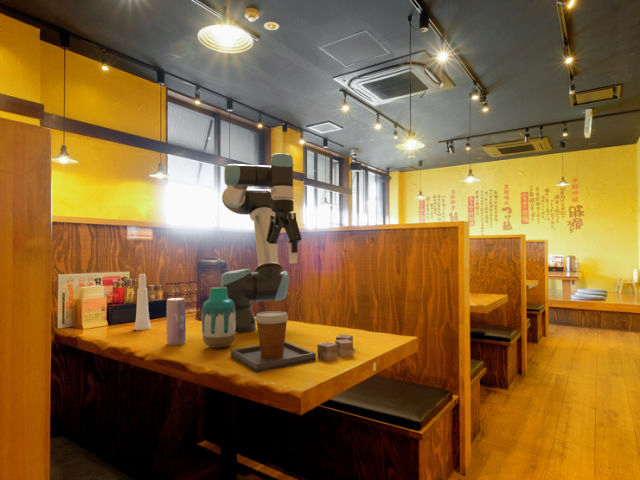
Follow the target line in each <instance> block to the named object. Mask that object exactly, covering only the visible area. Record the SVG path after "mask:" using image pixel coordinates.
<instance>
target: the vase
mask: <svg viewBox="0 0 640 480" xmlns="http://www.w3.org/2000/svg"><path fill="white" fill-rule="evenodd" d="M201 309H202V310H201V332H202V333H201V334H202V340H203V342H204V345H206V346H207V347H209V348H214V349H220V348H225V347H228V346H230V345H231V344H232V343H233V341H235V337H236V333H235V329H236V314H235V305H234V302H233V301H232V300H231V299H229V298H228V294H227V287H221V286H216V287H215V286H214V287H210V288H209V297H208V298H207V300H205V301H204V302H203V303H202V308H201Z"/></svg>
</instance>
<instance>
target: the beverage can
mask: <svg viewBox="0 0 640 480" xmlns="http://www.w3.org/2000/svg"><path fill="white" fill-rule="evenodd" d="M186 328H187V327H186V299H185V298H184V297H171V298H167V299H166V344H167V345H168V346H179V345H183V344H185V342H186V341H187V339H186V332H187V331H186Z"/></svg>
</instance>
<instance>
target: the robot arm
mask: <svg viewBox="0 0 640 480" xmlns="http://www.w3.org/2000/svg"><path fill="white" fill-rule="evenodd" d="M269 164H270V165H259V164H258V165H256V164H240V163H239V164H238V163H230V164H225V166H224V171H223V172H224V173H223V174H224V178H223V179H224V184H225V185H226V188H225V189H224V191H223V192H222V196H221V199H222V200H221V201H222V203H223V206H224V207H225V208H227V209H228V210H229V211H230V212H232V213H235V214H238V215H248V216H249V217H250V220H252V221H253V223H254V224H253V225H254V234H255V246H256V256H257V257H256V258H257V266H256V267H255V269H254V271H252V270H251V268H244V269H243V268H242V269H235V270H229V271H226V272H224V273H222V274H221V276H220V286H219V287H227V294H228V298H229V299H231V300H232V301H233V302H234V305H235V314H236V329H235V334H239V333H240V334H241V333H246V332H251V331H254V330H256V329H257V322H256V320H255V316H254V314H253V310H252V302H272V301H273V302H274V301H275V302H276V301H283V300H284V299H285V298H286V297H287V294H288V291H289V283H290V282H289V272H288V271H287V270H284V267H283V265H282V264H280V263H279V251H278V250H279V249H278V245H279V242H278V239H279V237H280V234H281V231H282V230H283V229H284V231H285V234H286V236H287V237H288V264H298V243H299V241H302V236H301V232H300V229H299V225H298V222H297V214H296V212H294V200H293V199H295V198H294V197H295V196H294V160H293V156H292V155H291V154H289V153H284V152H283V153H282V152H280V153H278V152H277V153H273V154H272V155H271V157H270V162H269ZM248 187H255V188H254V189H253V188H248ZM256 187H258V188H259V187H261V188H262V187H263V188H264V189H258V188H257V189H256ZM267 188H270V189H267Z"/></svg>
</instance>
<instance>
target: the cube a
mask: <svg viewBox="0 0 640 480" xmlns="http://www.w3.org/2000/svg"><path fill="white" fill-rule="evenodd" d="M316 347H317V351H316V352H317V359H320V360H322V359H323V361H327V362H328V361H332V360H335V359H338V355H337V344H335V342H329V341H325V342H321V343H318V344H317V346H316Z"/></svg>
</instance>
